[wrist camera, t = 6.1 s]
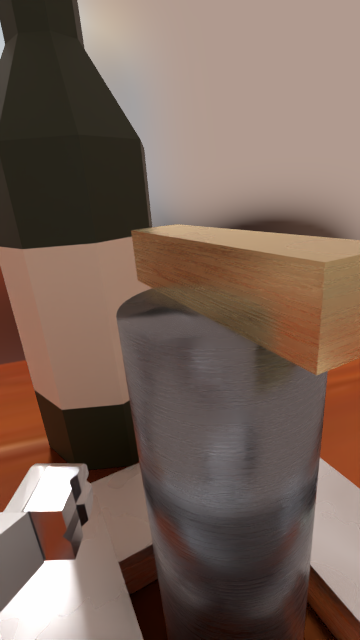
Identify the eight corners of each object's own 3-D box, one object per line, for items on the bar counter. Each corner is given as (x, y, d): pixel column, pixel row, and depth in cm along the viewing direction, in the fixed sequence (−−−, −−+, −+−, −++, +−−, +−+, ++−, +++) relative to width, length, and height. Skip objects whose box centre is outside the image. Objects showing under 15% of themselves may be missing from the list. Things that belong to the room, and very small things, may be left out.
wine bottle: (96, 384, 27) (-3, -126, 17) (191, 397, 25) (146, -208, 14) (20, 456, 20) (-241, -363, 9) (142, 487, 17) (-32, -636, 7)
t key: (140, 580, 13) (75, 237, 8) (231, 527, 15) (220, 218, 10) (235, 840, 8) (205, 288, 3) (361, 708, 9) (469, 229, 5)
